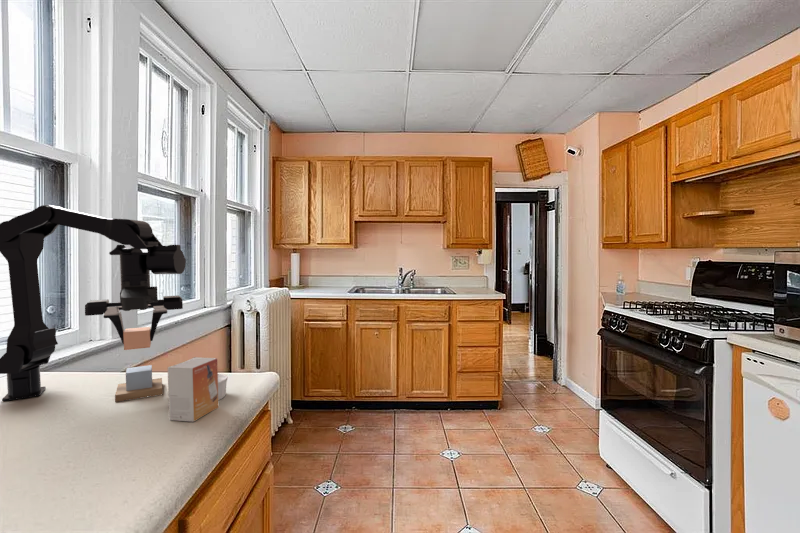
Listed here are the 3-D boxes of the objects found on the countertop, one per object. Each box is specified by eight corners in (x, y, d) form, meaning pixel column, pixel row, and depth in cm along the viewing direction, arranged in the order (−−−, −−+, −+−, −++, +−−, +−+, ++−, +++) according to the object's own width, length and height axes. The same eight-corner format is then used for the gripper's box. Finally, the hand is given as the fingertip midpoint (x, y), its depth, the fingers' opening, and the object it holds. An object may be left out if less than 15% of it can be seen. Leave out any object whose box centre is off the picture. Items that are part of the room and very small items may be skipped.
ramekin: (197, 408, 89) (196, 388, 89) (176, 400, 94) (176, 380, 94) (235, 396, 96) (235, 377, 96) (214, 389, 101) (214, 371, 101)
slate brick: (127, 385, 100) (126, 368, 100) (152, 381, 102) (151, 365, 102) (126, 391, 95) (125, 373, 95) (152, 387, 98) (151, 370, 98)
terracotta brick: (126, 345, 99) (125, 328, 99) (151, 343, 102) (150, 326, 101) (124, 350, 95) (123, 332, 95) (149, 347, 97) (149, 330, 97)
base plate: (118, 390, 101) (118, 384, 100) (162, 383, 105) (161, 377, 105) (115, 402, 93) (115, 395, 93) (162, 394, 97) (162, 388, 97)
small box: (193, 422, 81) (191, 368, 81) (168, 420, 82) (166, 366, 82) (219, 407, 89) (218, 357, 89) (196, 405, 90) (194, 356, 90)
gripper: (79, 278, 86) (82, 354, 87) (182, 274, 95) (185, 343, 96) (87, 275, 96) (90, 344, 96) (180, 272, 105) (182, 335, 106)
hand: (137, 342), depth 98 cm, fingers closed on terracotta brick, 5 cm apart
